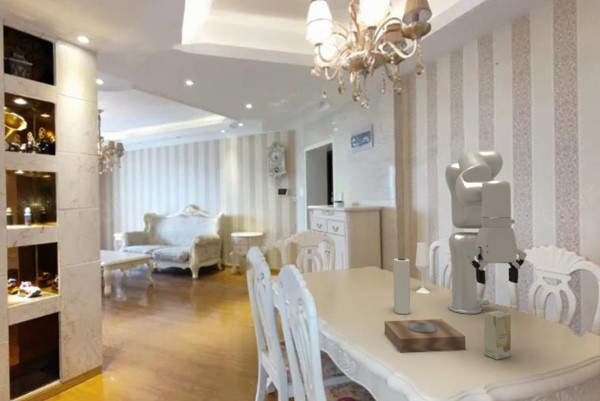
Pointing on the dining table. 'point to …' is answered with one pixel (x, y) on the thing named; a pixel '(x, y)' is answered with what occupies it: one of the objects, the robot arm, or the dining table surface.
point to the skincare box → (497, 334)
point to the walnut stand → (424, 335)
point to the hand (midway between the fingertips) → (497, 282)
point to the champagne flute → (422, 262)
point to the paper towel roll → (402, 285)
